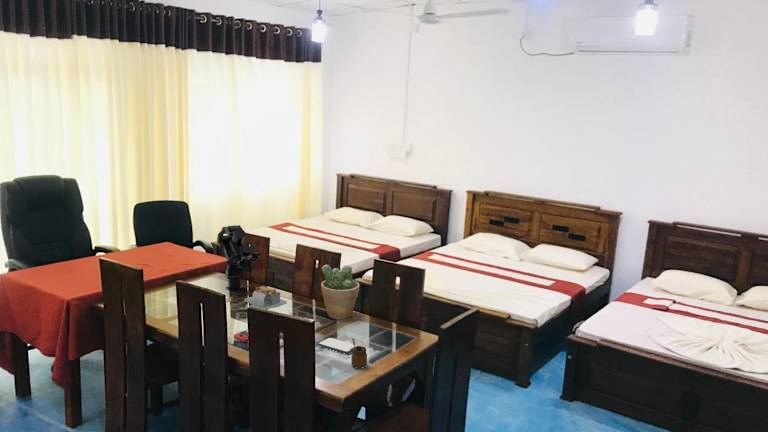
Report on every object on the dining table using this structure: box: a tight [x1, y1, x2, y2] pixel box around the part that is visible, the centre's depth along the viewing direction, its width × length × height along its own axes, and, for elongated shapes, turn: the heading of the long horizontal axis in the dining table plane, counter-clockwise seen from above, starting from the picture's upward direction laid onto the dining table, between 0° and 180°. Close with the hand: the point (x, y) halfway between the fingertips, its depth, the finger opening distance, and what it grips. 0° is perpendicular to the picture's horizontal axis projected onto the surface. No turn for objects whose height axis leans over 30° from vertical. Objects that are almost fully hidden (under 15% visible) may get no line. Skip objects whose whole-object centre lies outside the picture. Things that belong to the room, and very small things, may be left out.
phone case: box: [317, 337, 359, 355], centre depth 237 cm, size 9×2×16 cm
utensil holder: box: [351, 337, 368, 369], centre depth 220 cm, size 6×6×12 cm
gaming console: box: [233, 329, 249, 344], centre depth 249 cm, size 24×3×10 cm
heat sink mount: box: [243, 285, 287, 310], centre depth 288 cm, size 17×13×7 cm
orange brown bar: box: [257, 285, 277, 294], centre depth 286 cm, size 12×3×2 cm, turn 50°
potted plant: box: [320, 264, 360, 320], centre depth 272 cm, size 18×19×25 cm
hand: (251, 272), depth 294 cm, fingers closed
